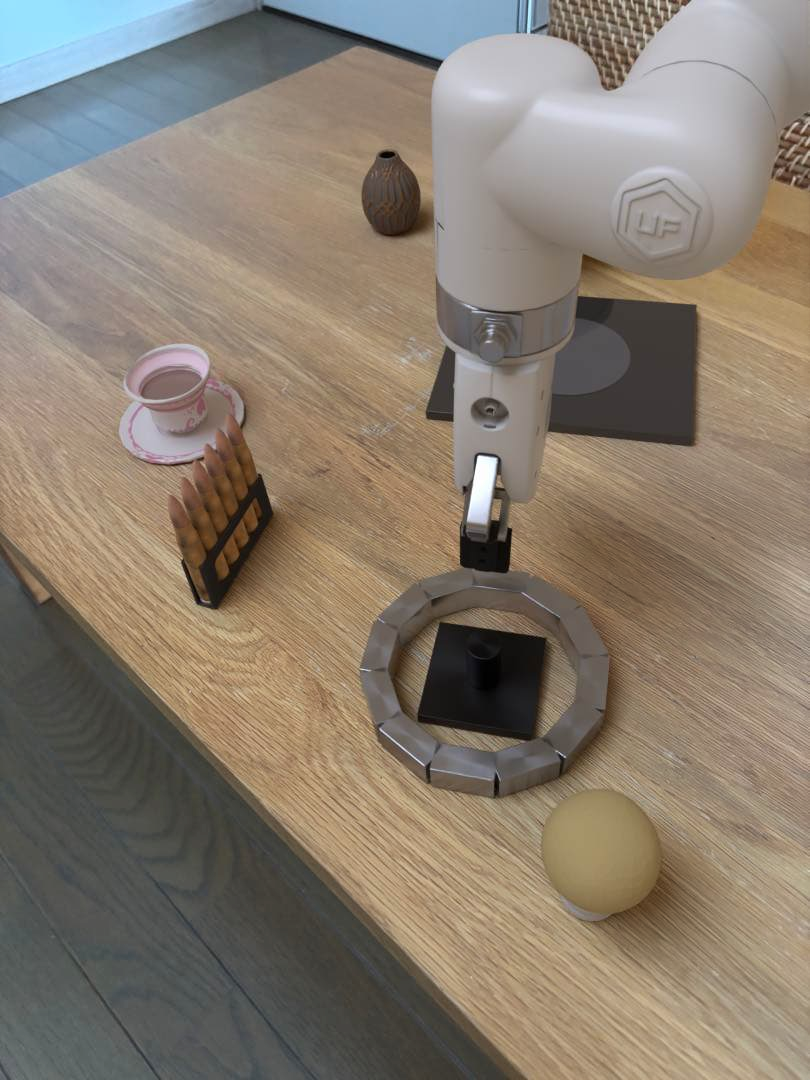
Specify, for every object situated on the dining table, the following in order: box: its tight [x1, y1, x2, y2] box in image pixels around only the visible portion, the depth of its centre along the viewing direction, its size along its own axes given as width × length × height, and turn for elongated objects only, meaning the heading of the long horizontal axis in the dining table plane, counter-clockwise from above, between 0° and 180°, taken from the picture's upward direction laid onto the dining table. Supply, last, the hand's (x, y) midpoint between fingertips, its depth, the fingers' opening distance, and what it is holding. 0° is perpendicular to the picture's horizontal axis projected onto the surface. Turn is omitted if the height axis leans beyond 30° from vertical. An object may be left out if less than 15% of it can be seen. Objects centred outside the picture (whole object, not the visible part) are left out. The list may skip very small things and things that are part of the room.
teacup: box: [118, 343, 245, 465], centre depth 80 cm, size 12×12×6 cm
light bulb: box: [540, 788, 663, 922], centre depth 48 cm, size 6×6×10 cm
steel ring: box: [358, 567, 611, 799], centre depth 61 cm, size 17×17×3 cm
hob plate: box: [425, 295, 698, 447], centre depth 84 cm, size 24×20×1 cm
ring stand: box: [416, 621, 548, 742], centre depth 60 cm, size 8×8×5 cm
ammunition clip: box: [167, 413, 274, 610], centre depth 67 cm, size 11×2×12 cm, turn 160°
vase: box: [360, 148, 422, 236], centre depth 100 cm, size 7×7×9 cm
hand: (496, 512), depth 59 cm, fingers open, 9 cm apart
